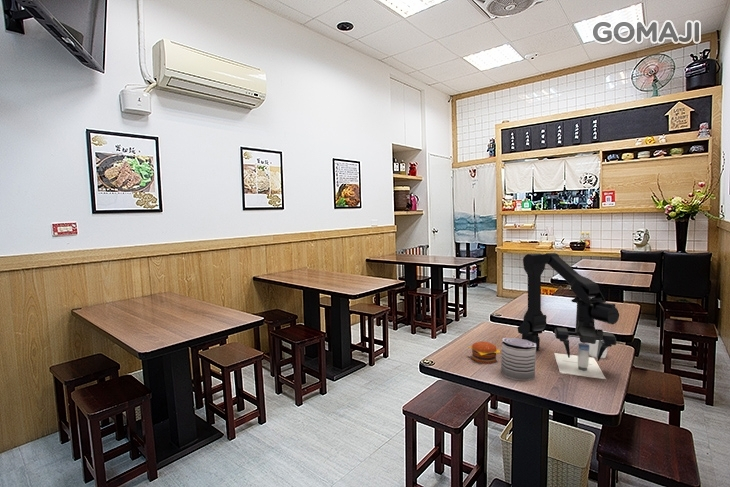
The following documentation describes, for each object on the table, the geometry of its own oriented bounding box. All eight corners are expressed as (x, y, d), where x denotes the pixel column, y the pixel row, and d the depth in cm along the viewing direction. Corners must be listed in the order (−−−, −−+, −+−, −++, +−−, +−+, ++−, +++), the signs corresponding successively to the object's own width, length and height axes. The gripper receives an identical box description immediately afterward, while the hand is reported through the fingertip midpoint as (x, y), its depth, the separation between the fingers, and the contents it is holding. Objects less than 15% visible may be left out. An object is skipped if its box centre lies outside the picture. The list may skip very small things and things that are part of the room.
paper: (559, 373, 137) (560, 372, 137) (554, 353, 156) (554, 352, 156) (605, 379, 132) (605, 378, 132) (593, 358, 151) (593, 357, 151)
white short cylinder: (610, 359, 150) (611, 341, 149) (591, 358, 151) (592, 340, 150) (603, 353, 156) (604, 336, 156) (585, 351, 158) (586, 335, 157)
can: (493, 370, 139) (494, 338, 138) (517, 365, 144) (518, 333, 143) (518, 383, 129) (519, 348, 128) (542, 377, 133) (544, 343, 132)
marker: (578, 370, 139) (579, 345, 138) (576, 366, 142) (577, 342, 141) (588, 371, 137) (590, 347, 137) (587, 368, 141) (588, 343, 140)
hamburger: (486, 353, 156) (486, 337, 155) (501, 362, 147) (502, 345, 146) (466, 356, 153) (466, 339, 152) (480, 365, 144) (481, 348, 143)
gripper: (558, 320, 134) (556, 363, 135) (621, 325, 127) (619, 371, 129) (555, 312, 144) (553, 352, 146) (613, 317, 138) (611, 359, 139)
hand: (583, 359), depth 139 cm, fingers open, 9 cm apart
